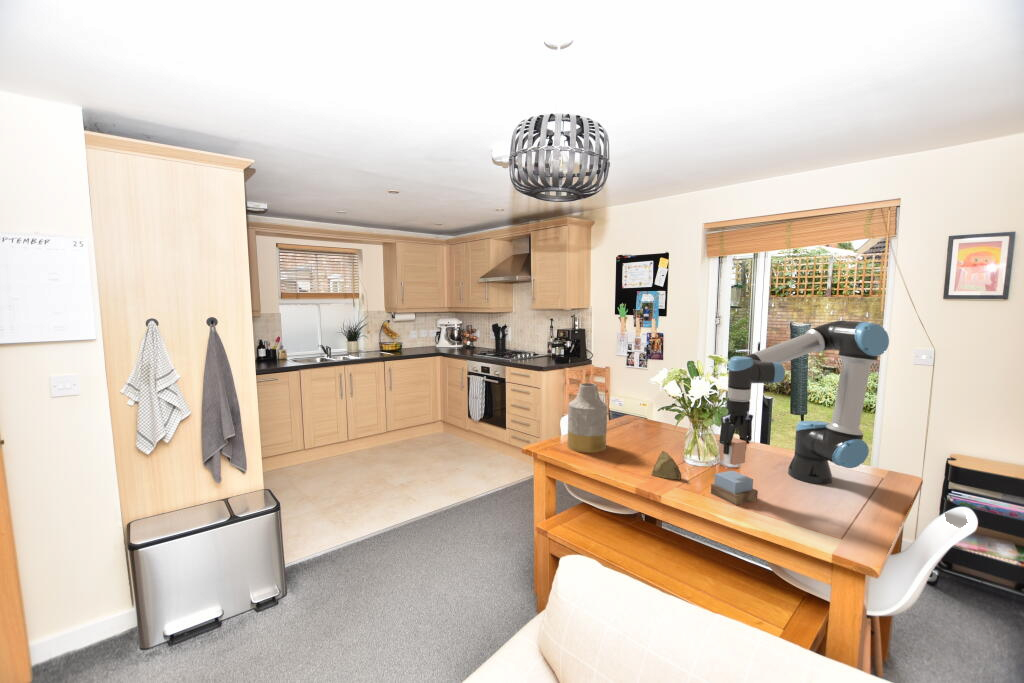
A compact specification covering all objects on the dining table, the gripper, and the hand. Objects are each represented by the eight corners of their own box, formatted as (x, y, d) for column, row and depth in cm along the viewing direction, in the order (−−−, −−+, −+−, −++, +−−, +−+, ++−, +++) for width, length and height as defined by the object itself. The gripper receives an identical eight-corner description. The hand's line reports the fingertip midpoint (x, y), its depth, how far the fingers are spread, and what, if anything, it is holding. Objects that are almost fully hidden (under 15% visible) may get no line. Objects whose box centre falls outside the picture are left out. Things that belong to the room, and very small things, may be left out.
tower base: (731, 489, 178) (731, 479, 178) (757, 501, 169) (757, 490, 168) (710, 494, 174) (711, 484, 173) (736, 506, 164) (736, 496, 163)
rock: (689, 473, 187) (670, 461, 195) (682, 459, 183) (663, 448, 191) (671, 491, 184) (652, 479, 193) (664, 478, 180) (645, 466, 189)
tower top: (731, 480, 177) (732, 470, 176) (752, 489, 169) (753, 479, 168) (714, 484, 173) (715, 473, 173) (734, 493, 165) (735, 483, 165)
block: (730, 457, 175) (731, 436, 174) (744, 462, 170) (746, 441, 169) (719, 459, 172) (720, 438, 171) (733, 465, 167) (735, 443, 166)
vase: (566, 440, 234) (567, 380, 231) (602, 441, 233) (604, 381, 230) (569, 452, 216) (570, 388, 213) (608, 453, 215) (611, 389, 212)
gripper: (748, 395, 175) (743, 454, 178) (710, 399, 167) (706, 461, 170) (766, 399, 168) (761, 461, 171) (727, 403, 161) (723, 468, 163)
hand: (734, 461), depth 170 cm, fingers closed on block, 6 cm apart
